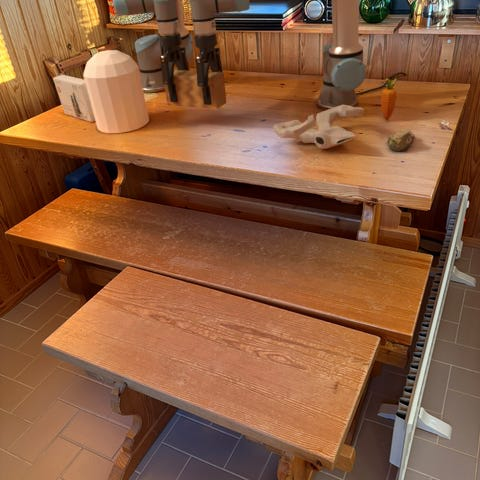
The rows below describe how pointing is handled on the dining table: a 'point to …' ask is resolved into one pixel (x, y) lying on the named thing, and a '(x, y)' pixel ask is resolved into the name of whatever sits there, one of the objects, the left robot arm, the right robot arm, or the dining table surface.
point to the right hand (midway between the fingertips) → (213, 100)
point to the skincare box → (74, 97)
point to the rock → (400, 140)
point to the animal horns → (320, 128)
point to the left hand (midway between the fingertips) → (179, 98)
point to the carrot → (388, 99)
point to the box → (197, 90)
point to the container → (115, 92)
